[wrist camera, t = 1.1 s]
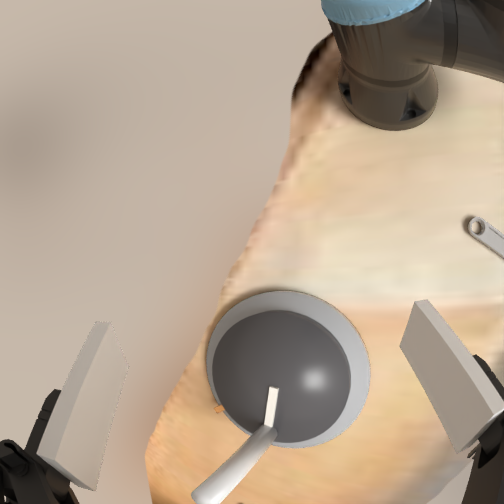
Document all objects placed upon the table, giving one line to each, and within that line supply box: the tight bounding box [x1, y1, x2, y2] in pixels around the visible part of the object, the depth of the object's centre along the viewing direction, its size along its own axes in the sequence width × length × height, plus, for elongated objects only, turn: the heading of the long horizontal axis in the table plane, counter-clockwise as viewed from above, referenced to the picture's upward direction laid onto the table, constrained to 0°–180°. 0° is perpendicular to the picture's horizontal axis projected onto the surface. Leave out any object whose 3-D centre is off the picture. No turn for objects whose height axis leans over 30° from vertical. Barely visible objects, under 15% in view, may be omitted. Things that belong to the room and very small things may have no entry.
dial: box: [191, 310, 351, 504], centre depth 30 cm, size 20×20×19 cm
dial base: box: [206, 291, 370, 448], centre depth 39 cm, size 25×25×2 cm
